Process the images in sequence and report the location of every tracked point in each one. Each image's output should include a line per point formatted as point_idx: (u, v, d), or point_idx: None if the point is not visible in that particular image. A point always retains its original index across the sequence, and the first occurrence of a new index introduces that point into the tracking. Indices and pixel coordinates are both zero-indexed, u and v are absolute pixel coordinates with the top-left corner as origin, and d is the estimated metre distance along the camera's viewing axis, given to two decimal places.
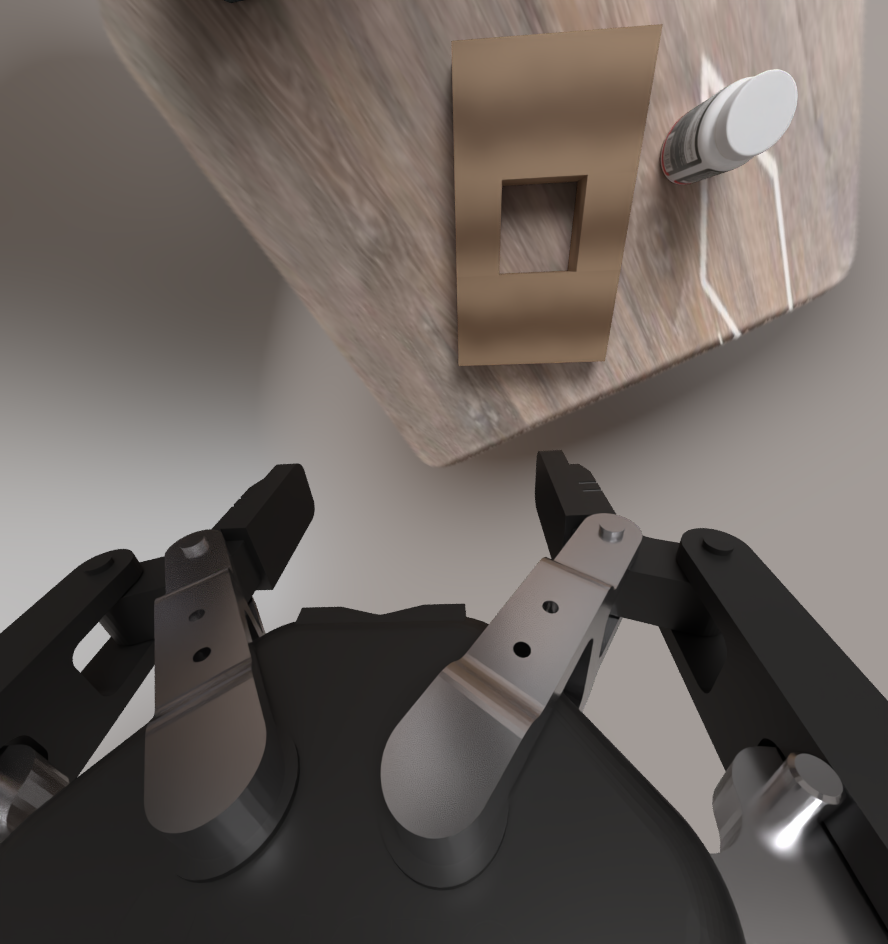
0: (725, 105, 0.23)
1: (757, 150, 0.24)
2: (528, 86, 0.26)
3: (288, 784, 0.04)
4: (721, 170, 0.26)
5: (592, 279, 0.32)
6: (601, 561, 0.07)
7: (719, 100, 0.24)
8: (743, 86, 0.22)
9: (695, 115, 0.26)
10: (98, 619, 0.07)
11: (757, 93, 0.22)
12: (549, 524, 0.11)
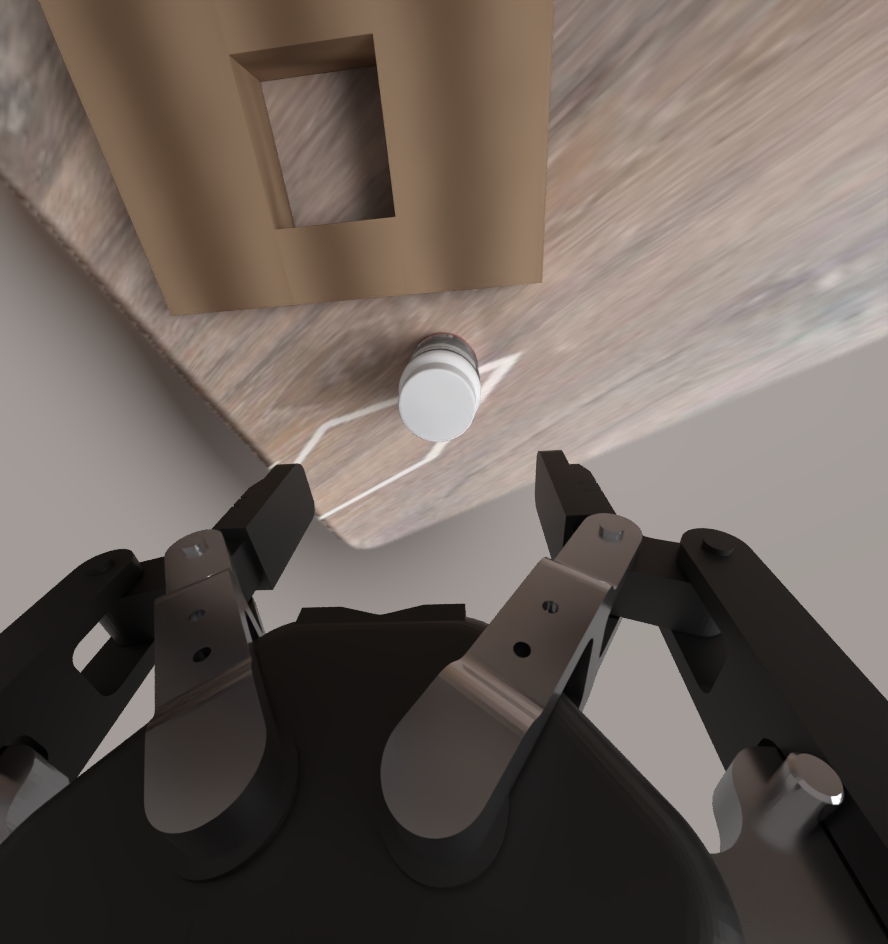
0: (448, 365, 0.19)
1: (404, 416, 0.19)
2: (493, 71, 0.16)
3: (288, 784, 0.04)
4: None
5: (271, 262, 0.21)
6: (601, 561, 0.07)
7: (459, 361, 0.20)
8: (461, 377, 0.18)
9: (456, 347, 0.21)
10: (98, 619, 0.07)
11: (454, 394, 0.19)
12: (549, 524, 0.11)
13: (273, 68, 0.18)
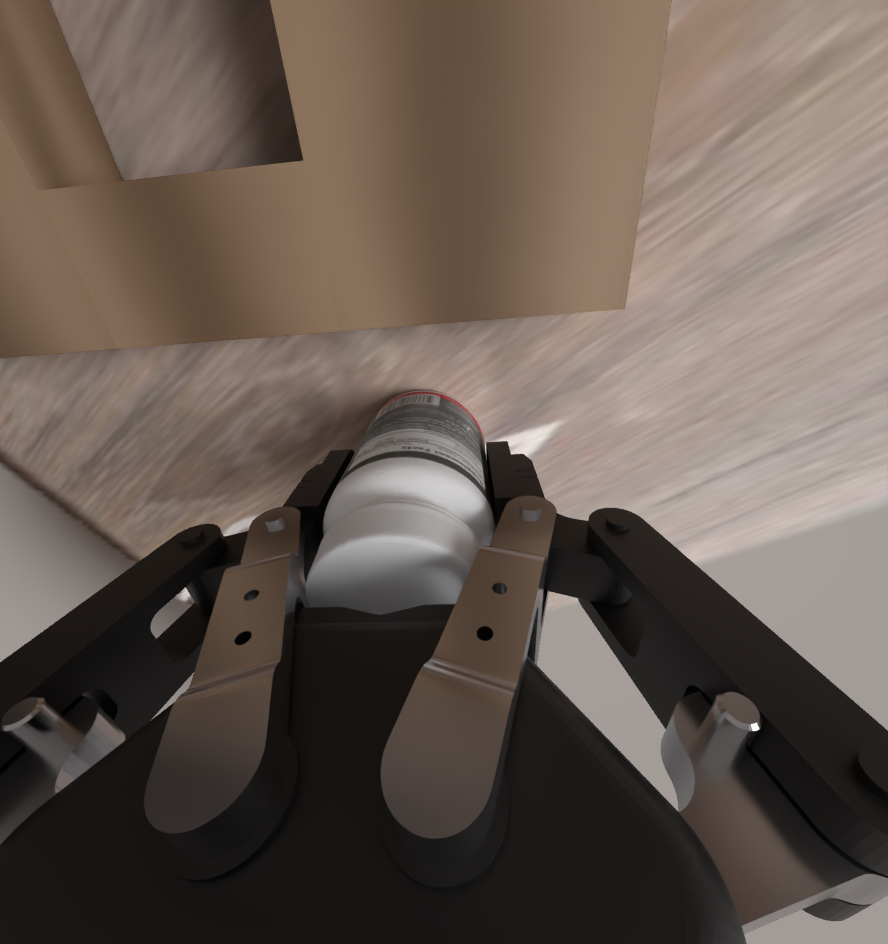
0: (422, 513, 0.08)
1: None
2: None
3: (288, 784, 0.04)
4: None
5: (49, 262, 0.10)
6: (529, 539, 0.08)
7: (449, 487, 0.09)
8: (455, 549, 0.07)
9: (445, 438, 0.11)
10: (179, 591, 0.08)
11: (437, 586, 0.08)
12: None
13: None
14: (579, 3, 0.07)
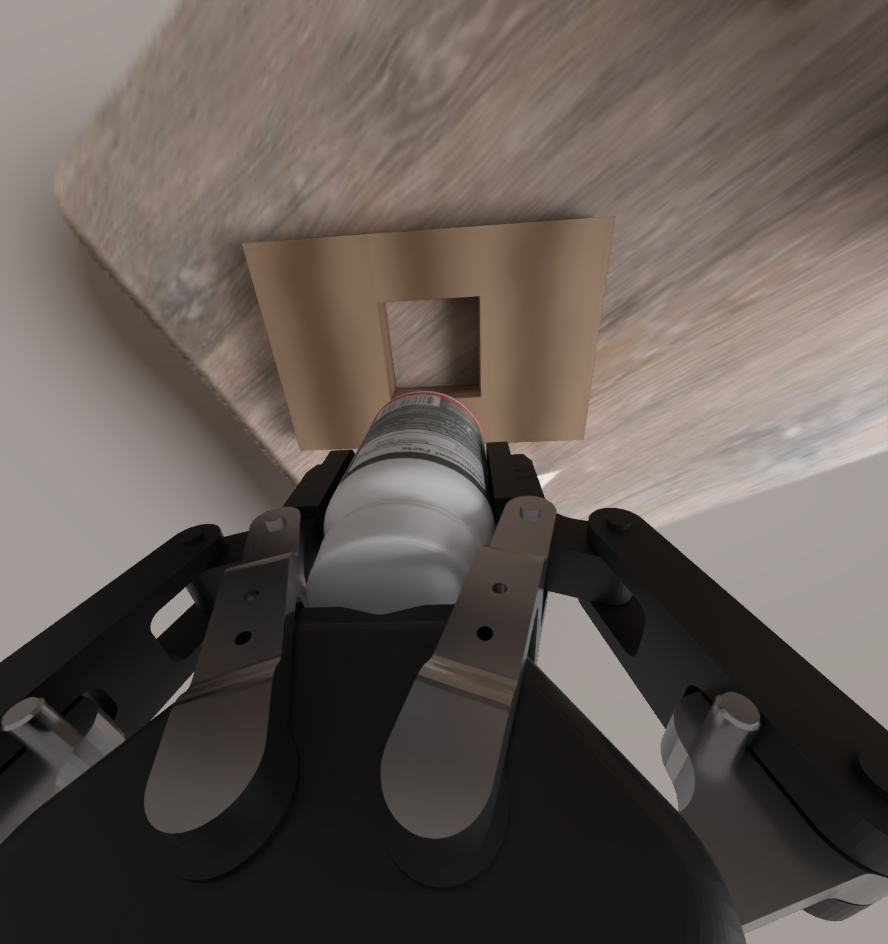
0: (423, 514, 0.08)
1: None
2: (561, 320, 0.24)
3: (288, 784, 0.04)
4: None
5: None
6: (529, 538, 0.08)
7: (449, 488, 0.09)
8: (455, 550, 0.07)
9: (445, 439, 0.11)
10: (178, 590, 0.08)
11: (437, 586, 0.08)
12: None
13: None
14: (568, 367, 0.25)
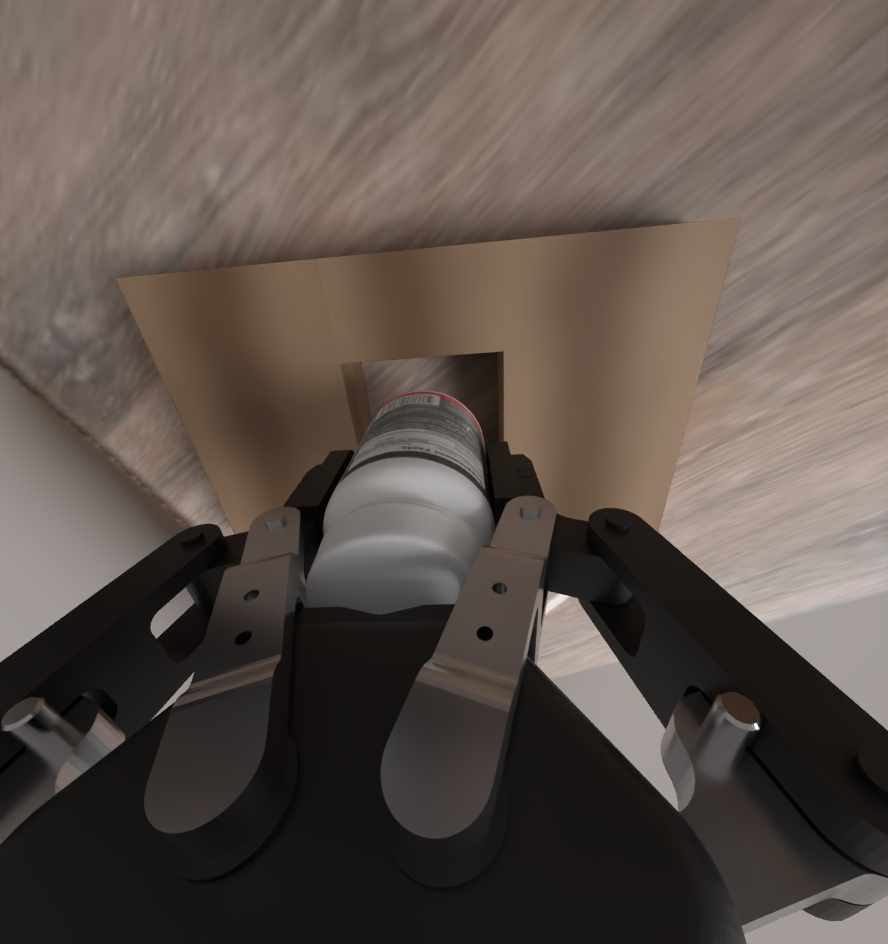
0: (422, 513, 0.08)
1: None
2: (633, 384, 0.15)
3: (288, 784, 0.04)
4: None
5: None
6: (528, 538, 0.08)
7: (449, 487, 0.09)
8: (455, 549, 0.07)
9: (445, 438, 0.11)
10: (179, 590, 0.08)
11: (437, 586, 0.08)
12: None
13: None
14: (639, 451, 0.16)
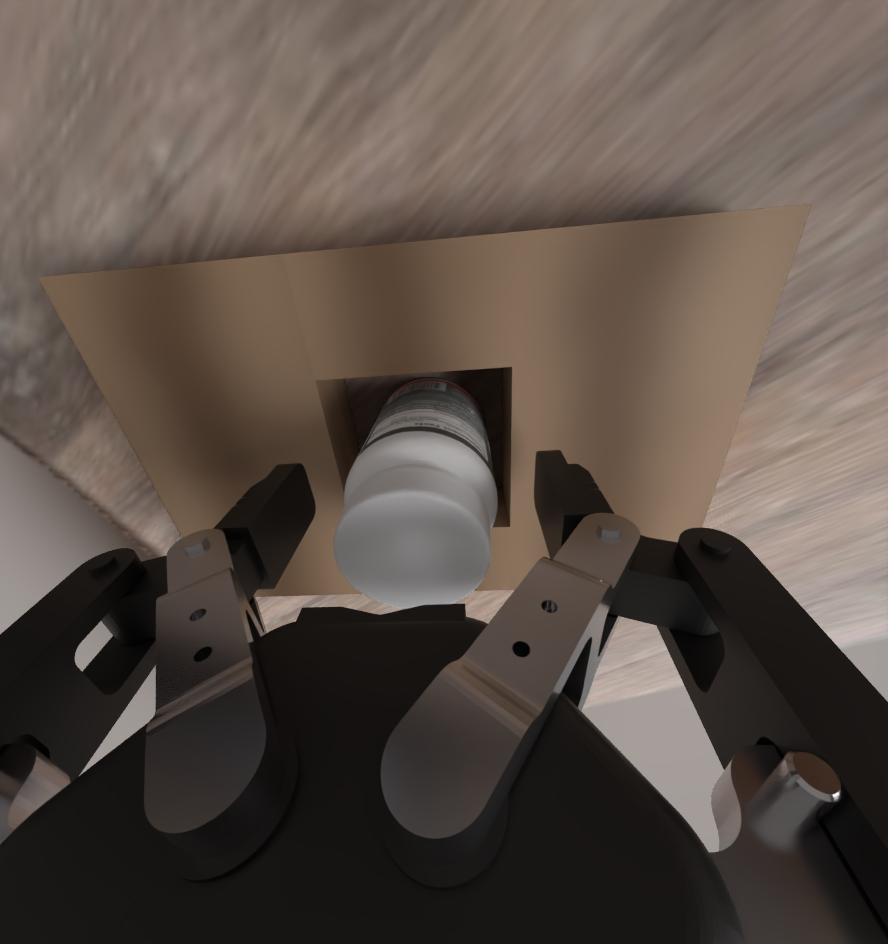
0: (435, 475, 0.09)
1: (347, 571, 0.10)
2: (666, 406, 0.13)
3: (288, 784, 0.04)
4: None
5: None
6: (599, 560, 0.07)
7: (457, 457, 0.10)
8: (463, 504, 0.09)
9: (452, 417, 0.12)
10: (100, 618, 0.08)
11: (448, 537, 0.09)
12: (548, 523, 0.11)
13: None
14: (670, 482, 0.14)
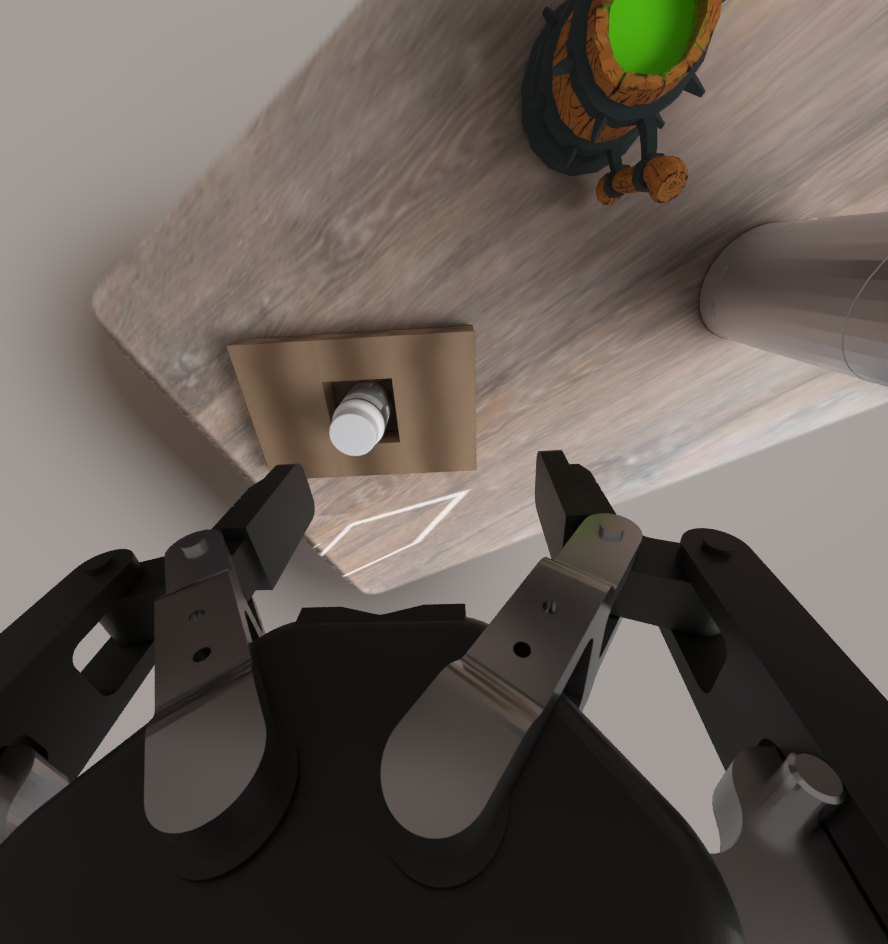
0: (359, 410, 0.31)
1: (333, 440, 0.32)
2: (448, 392, 0.35)
3: (288, 784, 0.04)
4: None
5: (332, 458, 0.39)
6: (601, 561, 0.07)
7: (367, 407, 0.32)
8: (366, 418, 0.31)
9: (370, 396, 0.34)
10: (98, 619, 0.07)
11: (362, 428, 0.31)
12: (549, 524, 0.11)
13: None
14: (458, 422, 0.37)
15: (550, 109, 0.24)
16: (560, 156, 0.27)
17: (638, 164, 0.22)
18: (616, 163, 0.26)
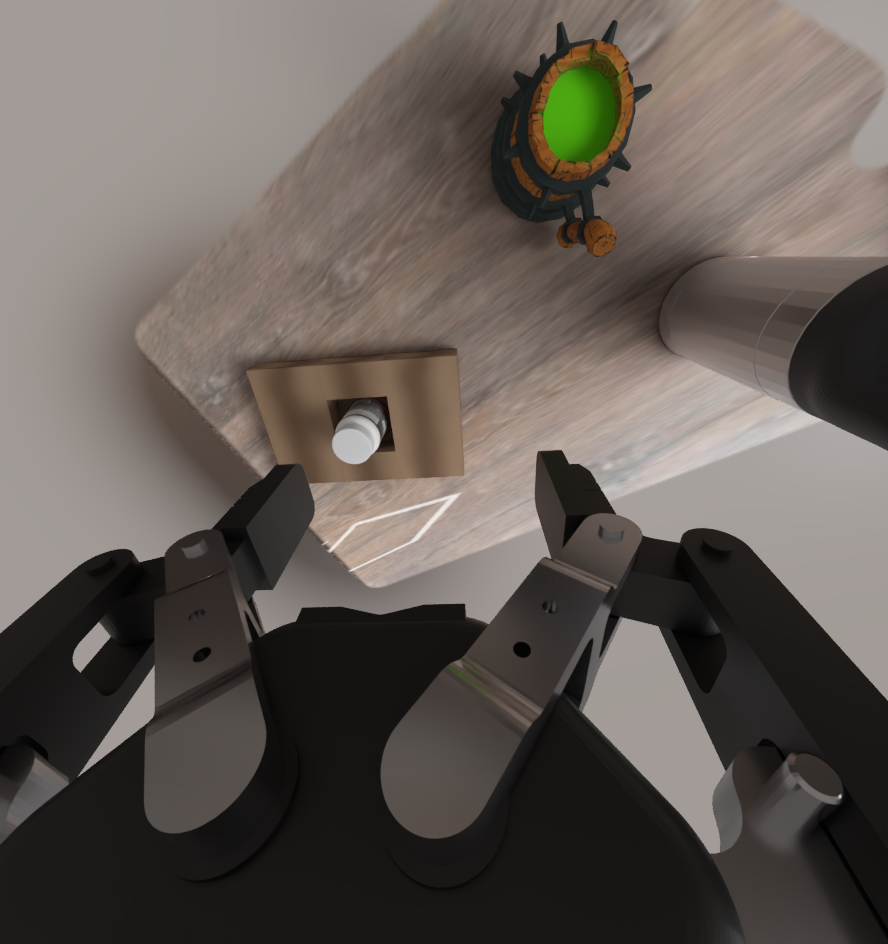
0: (357, 425, 0.36)
1: (335, 451, 0.37)
2: (436, 408, 0.40)
3: (288, 784, 0.04)
4: None
5: (337, 465, 0.44)
6: (601, 561, 0.07)
7: (365, 422, 0.37)
8: (363, 432, 0.36)
9: (367, 411, 0.39)
10: (98, 619, 0.07)
11: (360, 440, 0.36)
12: (549, 524, 0.11)
13: None
14: (446, 433, 0.41)
15: (511, 175, 0.29)
16: (524, 209, 0.32)
17: (580, 224, 0.27)
18: (570, 216, 0.30)
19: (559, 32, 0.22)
